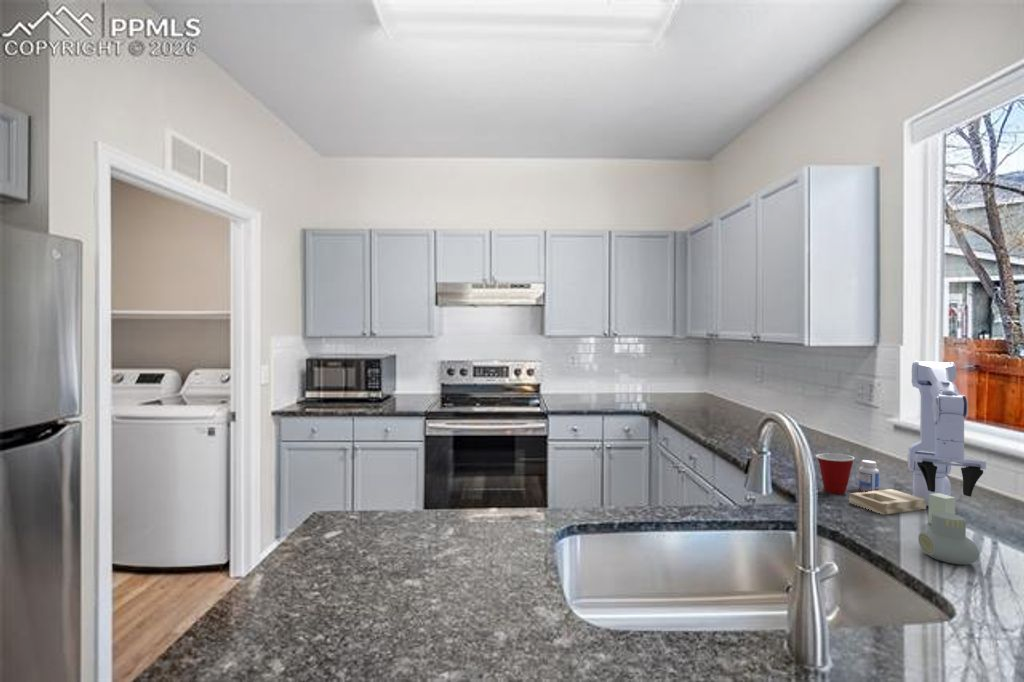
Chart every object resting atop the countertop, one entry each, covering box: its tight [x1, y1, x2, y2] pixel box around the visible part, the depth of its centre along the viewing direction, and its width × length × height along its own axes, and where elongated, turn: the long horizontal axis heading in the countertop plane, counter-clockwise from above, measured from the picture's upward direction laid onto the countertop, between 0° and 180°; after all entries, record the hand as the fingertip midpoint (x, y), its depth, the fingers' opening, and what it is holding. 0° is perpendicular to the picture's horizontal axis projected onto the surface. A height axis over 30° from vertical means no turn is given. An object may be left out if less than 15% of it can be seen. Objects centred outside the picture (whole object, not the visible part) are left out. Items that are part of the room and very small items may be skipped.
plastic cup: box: [815, 452, 856, 495], centre depth 163 cm, size 11×11×12 cm
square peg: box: [927, 493, 957, 525], centre depth 135 cm, size 4×4×8 cm
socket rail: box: [848, 488, 927, 515], centre depth 149 cm, size 18×10×3 cm, turn 108°
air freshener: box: [917, 512, 980, 566], centre depth 113 cm, size 11×8×10 cm
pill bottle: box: [858, 459, 880, 492], centre depth 165 cm, size 6×5×10 cm
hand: (949, 493), depth 129 cm, fingers open, 7 cm apart
